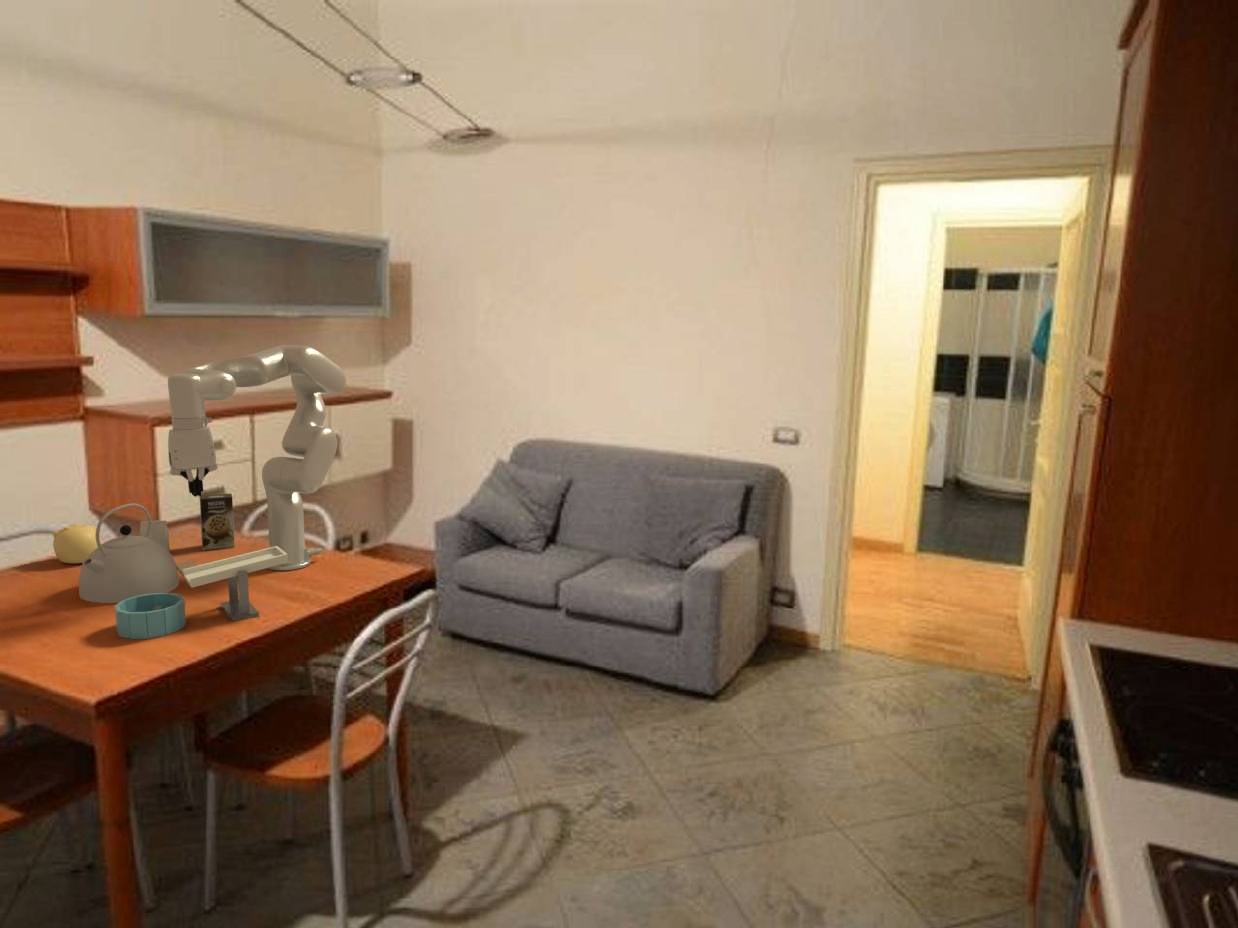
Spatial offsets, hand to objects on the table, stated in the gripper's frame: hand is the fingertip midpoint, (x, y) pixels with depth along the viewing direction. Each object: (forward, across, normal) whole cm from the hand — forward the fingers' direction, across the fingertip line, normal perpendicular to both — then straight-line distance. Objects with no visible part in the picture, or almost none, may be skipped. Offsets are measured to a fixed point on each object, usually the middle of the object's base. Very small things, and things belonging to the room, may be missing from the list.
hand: (196, 495), depth 210 cm
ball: (+23, +14, +18) cm, 32 cm away
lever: (+17, -4, +13) cm, 22 cm away
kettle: (+26, +16, -15) cm, 34 cm away
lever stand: (+26, -3, +18) cm, 32 cm away
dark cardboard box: (+28, -14, -43) cm, 53 cm away
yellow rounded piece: (+27, +22, -49) cm, 60 cm away
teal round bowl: (+25, +16, +18) cm, 35 cm away
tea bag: (+27, +3, -46) cm, 54 cm away
